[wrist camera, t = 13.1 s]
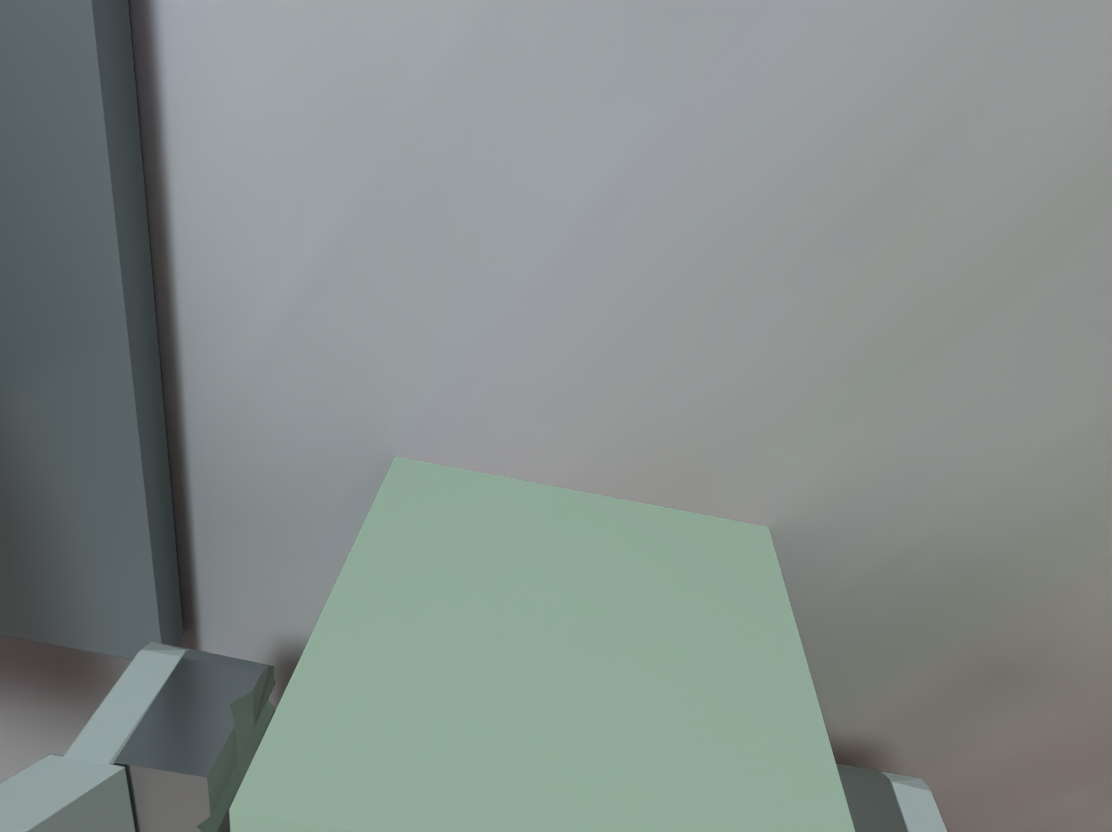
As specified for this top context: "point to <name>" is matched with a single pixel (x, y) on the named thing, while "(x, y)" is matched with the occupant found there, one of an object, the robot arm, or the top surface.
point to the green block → (546, 675)
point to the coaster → (79, 342)
